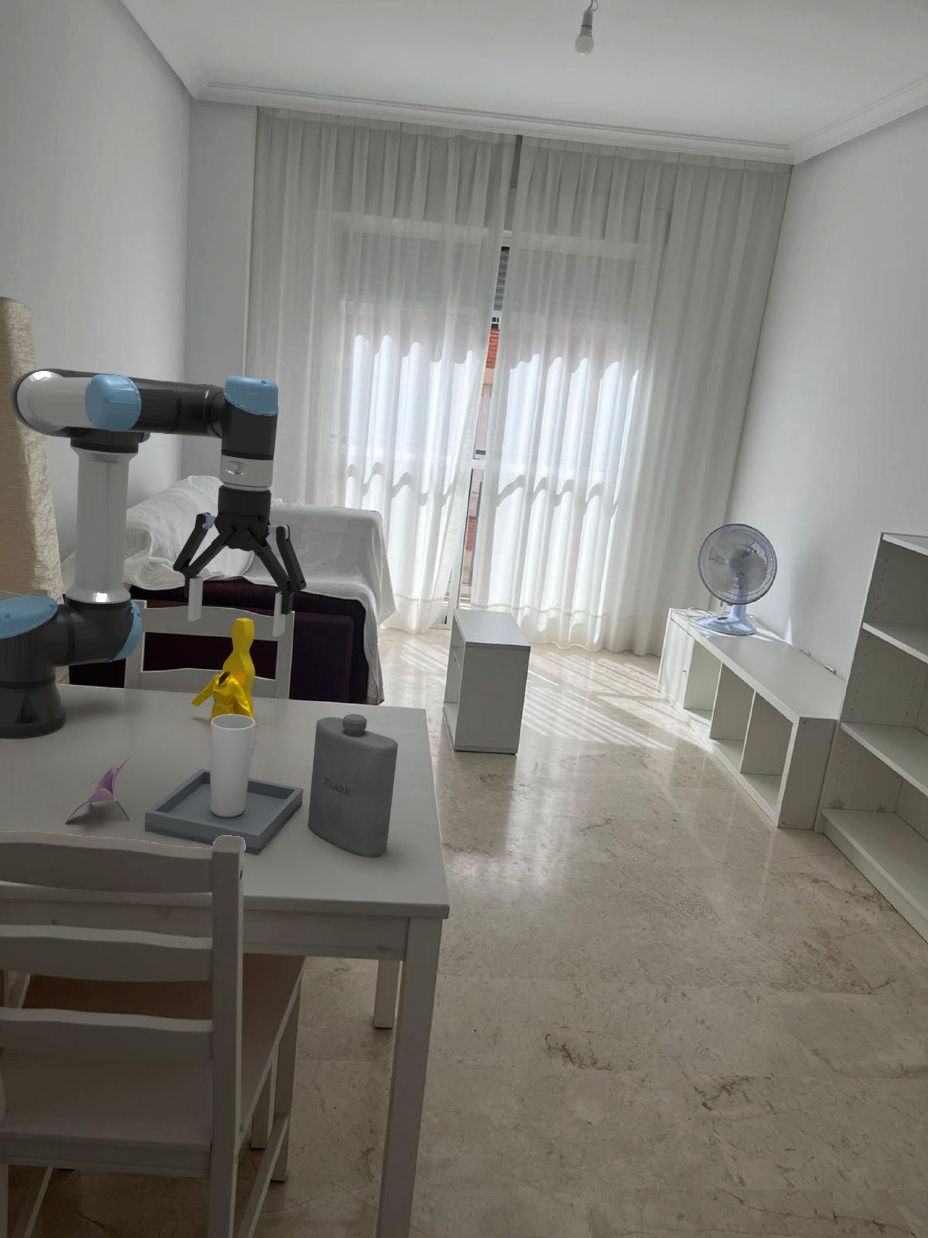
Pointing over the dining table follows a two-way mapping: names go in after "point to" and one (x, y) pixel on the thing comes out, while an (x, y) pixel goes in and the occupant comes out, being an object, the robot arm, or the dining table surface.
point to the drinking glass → (230, 762)
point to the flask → (352, 785)
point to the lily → (105, 789)
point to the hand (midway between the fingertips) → (236, 627)
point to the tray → (194, 820)
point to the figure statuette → (233, 676)
